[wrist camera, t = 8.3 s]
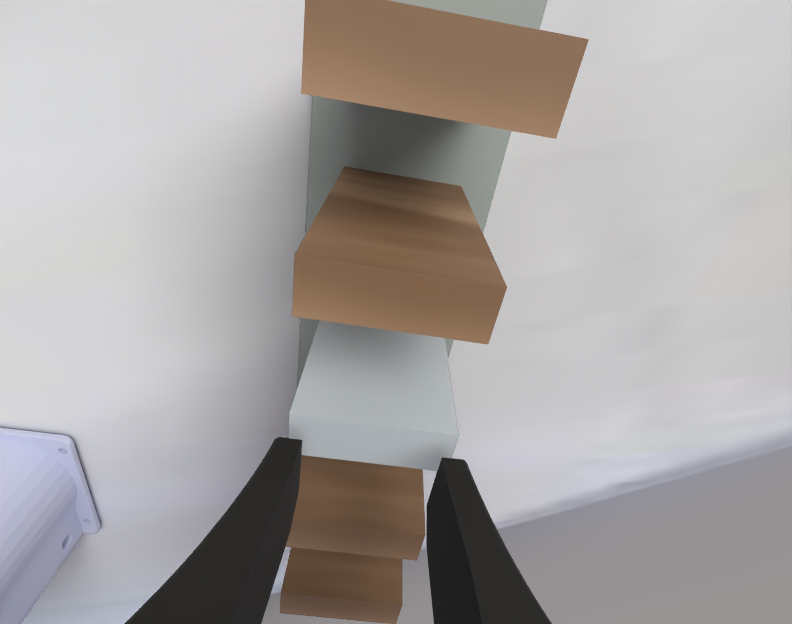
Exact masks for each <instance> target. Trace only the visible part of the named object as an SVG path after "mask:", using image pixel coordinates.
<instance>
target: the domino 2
mask: <svg viewBox="0 0 792 624" xmlns="http://www.w3.org/2000/svg"><path fill="white" fill-rule="evenodd" d="M506 289H507V286H506V284H505V282H504V280H503V277H502V275H501V273H500V271H499V269H498V266H497V264H496V262H495V260H494V257H493V255H492V253H491V251H490V249H489V246H488V244H487V242H486V240H485V238H484V235H483V233H482V231H481V229H480V226H479V224H478V222H477V220H476V218H475V215H474V213H473V211H472V209H471V207H470V204H469V202H468V200H467V198H466V195H465V193H464V191H463V189H462V187H461V186H459V185H453V184H447V183H441V182H435V181H429V180H423V179H417V178H411V177H405V176H399V175H393V174H387V173H381V172H375V171H369V170H363V169H357V168H351V167H345V166H344V168H343V169H342V171H341V173H340V175H339V176H338V178H337V180H336V182H335V184H334V185H333V187H332V189H331V191H330V193H329V194H328V196H327V198H326V200H325V202H324V203H323V205H322V207H321V209H320V211H319V212H318V214H317V216H316V218H315V219H314V221H313V223H312V225H311V227H310V228H309V230H308V232H307V234H306V236H305V237H304V239H303V241H302V243H301V245H300V246H299V248H298V250H297V252H296V253H295V260H294V284H293V308H292V316H293V317H300V318H307V319H314V320H321V321H328V322H335V323H342V324H349V325H356V326H363V327H370V328H377V329H384V330H391V331H398V332H405V333H412V334H419V335H426V336H433V337H440V338H447V339H454V340H461V341H468V342H475V343H482V344H488V343H489V340H490V337H491V334H492V331H493V328H494V325H495V322H496V319H497V316H498V313H499V310H500V307H501V304H502V301H503V298H504V295H505V292H506Z"/></svg>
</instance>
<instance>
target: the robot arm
mask: <svg viewBox="0 0 792 624" xmlns="http://www.w3.org/2000/svg"><path fill="white" fill-rule="evenodd" d="M301 453H302V440H299V439H291V438H283V437H278V438H277V439H275V440H274V442H273V444H272V445H271V447H270V449H269V451H268V452H267V454H266V456H265V457H264V459H263V461H262V462H261V464H260V465H259V467H258V468H257V470H256V471H255V473H254V474H253V476H252V477H251V479H250V480H249V482H248V483H247V484H246V486H245V487H244V488H243V490H242V491H241V493H240V494H239V495H238V497H237V498H236V499H235V501H234V502H233V503H232V505H231V506H230V507H229V509H228V510H227V511H226V513H225V514H224V515H223V516H222V518H221V519H220V520H219V521H218V523H217V524H216V525H215V526H214V527H213V529H212V530H211V531H210V532H209V534H208V535H207V536H206V537H205V538H204V540H203V541H202V542H201V543H200V544H199V546H198V547H197V548H196V549H195V550H194V551H193V553H192V554H191V555H190V556H189V557H188V558H187V559H186V561H185V562H184V563H183V564H182V565H181V566H180V567H179V568H178V569H177V570H176V572H175V573H174V574H173V575H172V576H171V577H170V578H169V579H168V580H167V581H166V582H165V583H164V584H163V585H162V586H161V588H160V589H159V590H158V591H157V592H156V593H155V594H154V595H153V596H152V597H151V598H150V599H149V600H148V601H147V602H146V603H145V604H144V605H143V606H142V607H141V608H140V609H139V610H138V611H137V612H136V613H135V614H134V615H133V616H132V617H131V618H130V619H129V620H128V621H127V622H126V623H125V624H261V622H262V619H263V616H264V612H265V609H266V606H267V603H268V600H269V597H270V594H271V591H272V587H273V584H274V581H275V578H276V575H277V572H278V568H279V565H280V562H281V559H282V556H283V552H284V549H285V546H286V543H287V540H288V536H289V533H290V530H291V525H292V521H293V516H294V511H295V507H296V502H297V497H298V493H299V483H300V468H301ZM100 528H101V525H100V522H99V519H98V516H97V513H96V510H95V507H94V504H93V501H92V498H91V495H90V491H89V488H88V485H87V482H86V479H85V476H84V473H83V470H82V467H81V464H80V461H79V457H78V454H77V451H76V448H75V445H74V442H73V440H72V439H71V438H70V437H68V436H65V435H58V434H50V433H41V432H33V431H25V430H16V429H8V428H0V624H21V623H22V621H23V620H24V619H25V617H26V616H27V614H28V613H29V611H30V610H31V608H32V607H33V606H34V604H35V603H36V601H37V600H38V598H39V597H40V595H41V594H42V592H43V591H44V589H45V588H46V586H47V585H48V583H49V582H50V580H51V579H52V577H53V576H54V575H55V573H56V572H57V570H58V569H59V567H60V566H61V564H62V563H63V561H64V560H65V558H66V557H67V555H68V554H69V552H70V551H71V549H72V548H73V547H74V545H75V544H76V542H77V541H78V539H79V538H80V536H81V535H82V533H90V534H94V533H97V532H98V531H99V529H100ZM427 554H428V566H429V577H430V587H431V596H432V607H433V617H434V624H552V623H551V622H550V620H549V619H548V617H547V616H546V614H545V613H544V611H543V610H542V608H541V606H540V605H539V603H538V602H537V600H536V599H535V597H534V595H533V594H532V592H531V590H530V589H529V587H528V585H527V584H526V582H525V580H524V579H523V577H522V575H521V573H520V571H519V570H518V568H517V566H516V565H515V563H514V561H513V559H512V557H511V555H510V554H509V552H508V550H507V548H506V546H505V545H504V542H503V540H502V538H501V537H500V535H499V533H498V531H497V529H496V527H495V525H494V523H493V521H492V519H491V517H490V515H489V513H488V511H487V508H486V506H485V504H484V502H483V500H482V498H481V495H480V493H479V491H478V489H477V486H476V484H475V482H474V479H473V477H472V475H471V472H470V470H469V467H468V465H467V463H466V462H465V460H461V459H452V458H444V457H442V458H441V461H440V465H439V468H438V471H437V474H436V477H435V480H434V484H433V487H432V490H431V493H430V496H429V500H428V503H427Z"/></svg>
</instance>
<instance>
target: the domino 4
mask: <svg viewBox="0 0 792 624" xmlns="http://www.w3.org/2000/svg"><path fill="white" fill-rule="evenodd" d="M401 607H402V559H399V558H389V557H380V556H371V555H361V554H352V553H342V552H333V551H324V550H314V549H305V548H296V547H291V551H290V555H289V560H288V564H287V568H286V573H285V577H284V581H283V586H282V590H281V602H280V613H285V614H295V615H306V616H316V617H326V618H338V619H347V620H357V621H368V622H379V623H389V624H396V622H397V619H398V616H399V613H400V610H401Z"/></svg>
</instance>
